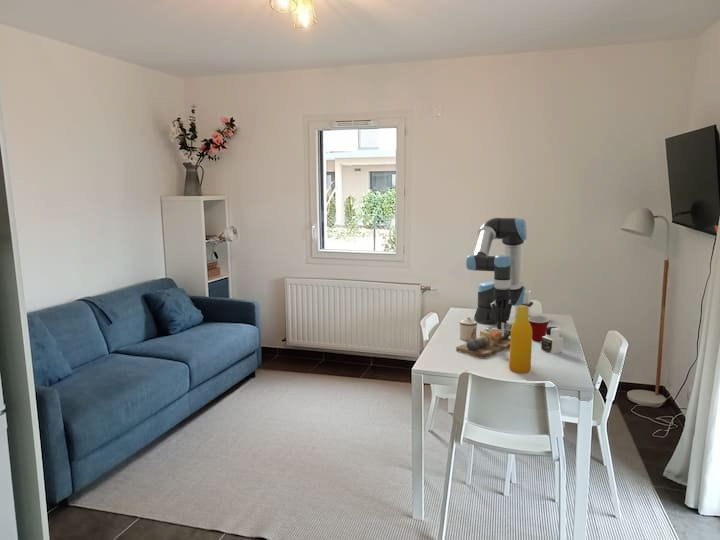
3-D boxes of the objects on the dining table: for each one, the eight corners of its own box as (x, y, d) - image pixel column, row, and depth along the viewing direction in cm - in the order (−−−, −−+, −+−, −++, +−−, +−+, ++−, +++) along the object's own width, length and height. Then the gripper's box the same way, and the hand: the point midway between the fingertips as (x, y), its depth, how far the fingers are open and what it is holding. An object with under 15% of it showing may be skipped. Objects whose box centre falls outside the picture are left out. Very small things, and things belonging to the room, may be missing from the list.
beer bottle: (529, 367, 248) (532, 304, 243) (531, 374, 239) (534, 309, 234) (508, 365, 250) (511, 303, 245) (509, 372, 241) (512, 308, 236)
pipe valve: (492, 337, 293) (493, 321, 292) (519, 344, 282) (520, 327, 280) (456, 350, 271) (456, 333, 270) (483, 358, 260) (484, 339, 258)
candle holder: (546, 314, 344) (548, 288, 341) (539, 323, 323) (540, 296, 320) (506, 309, 356) (507, 285, 353) (496, 318, 335) (498, 292, 332)
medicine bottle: (540, 350, 272) (542, 326, 270) (552, 348, 275) (553, 325, 273) (551, 354, 266) (552, 330, 264) (562, 352, 268) (564, 328, 266)
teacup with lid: (474, 341, 286) (475, 320, 284) (457, 339, 290) (458, 318, 288) (479, 335, 297) (480, 314, 295) (462, 333, 301) (463, 313, 299)
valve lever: (485, 330, 276) (485, 326, 276) (491, 330, 276) (491, 326, 276) (494, 338, 263) (495, 334, 262) (501, 337, 263) (501, 333, 263)
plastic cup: (523, 340, 288) (524, 318, 286) (532, 336, 296) (533, 314, 294) (543, 344, 281) (544, 321, 279) (552, 340, 289) (553, 317, 287)
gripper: (507, 285, 268) (506, 331, 272) (486, 287, 262) (485, 335, 267) (517, 287, 261) (516, 335, 265) (496, 290, 256) (495, 339, 260)
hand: (500, 335), depth 266 cm, fingers closed
